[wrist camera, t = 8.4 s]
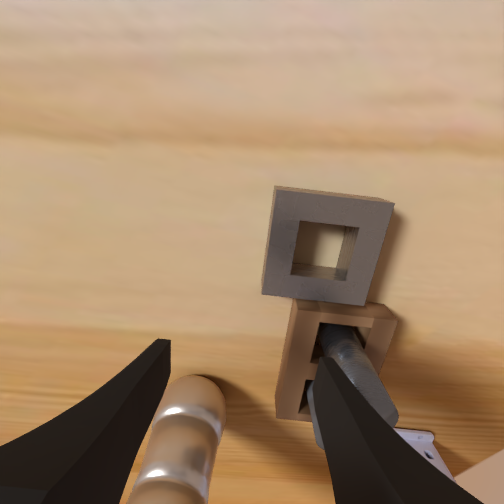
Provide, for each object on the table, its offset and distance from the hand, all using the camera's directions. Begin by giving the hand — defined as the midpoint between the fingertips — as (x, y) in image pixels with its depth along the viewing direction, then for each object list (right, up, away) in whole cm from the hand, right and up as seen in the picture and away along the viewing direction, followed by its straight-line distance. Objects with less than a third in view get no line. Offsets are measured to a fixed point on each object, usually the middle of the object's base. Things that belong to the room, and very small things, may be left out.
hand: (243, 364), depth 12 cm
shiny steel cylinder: (+8, -1, +11) cm, 14 cm away
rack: (+7, -4, +12) cm, 15 cm away
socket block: (+6, +6, +9) cm, 12 cm away
